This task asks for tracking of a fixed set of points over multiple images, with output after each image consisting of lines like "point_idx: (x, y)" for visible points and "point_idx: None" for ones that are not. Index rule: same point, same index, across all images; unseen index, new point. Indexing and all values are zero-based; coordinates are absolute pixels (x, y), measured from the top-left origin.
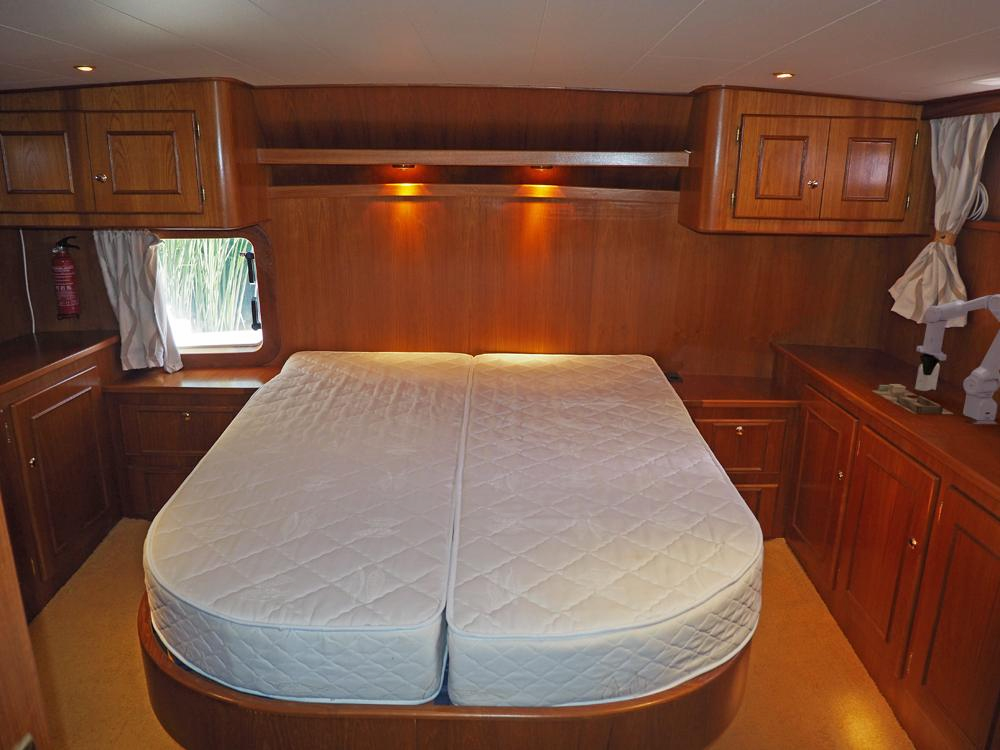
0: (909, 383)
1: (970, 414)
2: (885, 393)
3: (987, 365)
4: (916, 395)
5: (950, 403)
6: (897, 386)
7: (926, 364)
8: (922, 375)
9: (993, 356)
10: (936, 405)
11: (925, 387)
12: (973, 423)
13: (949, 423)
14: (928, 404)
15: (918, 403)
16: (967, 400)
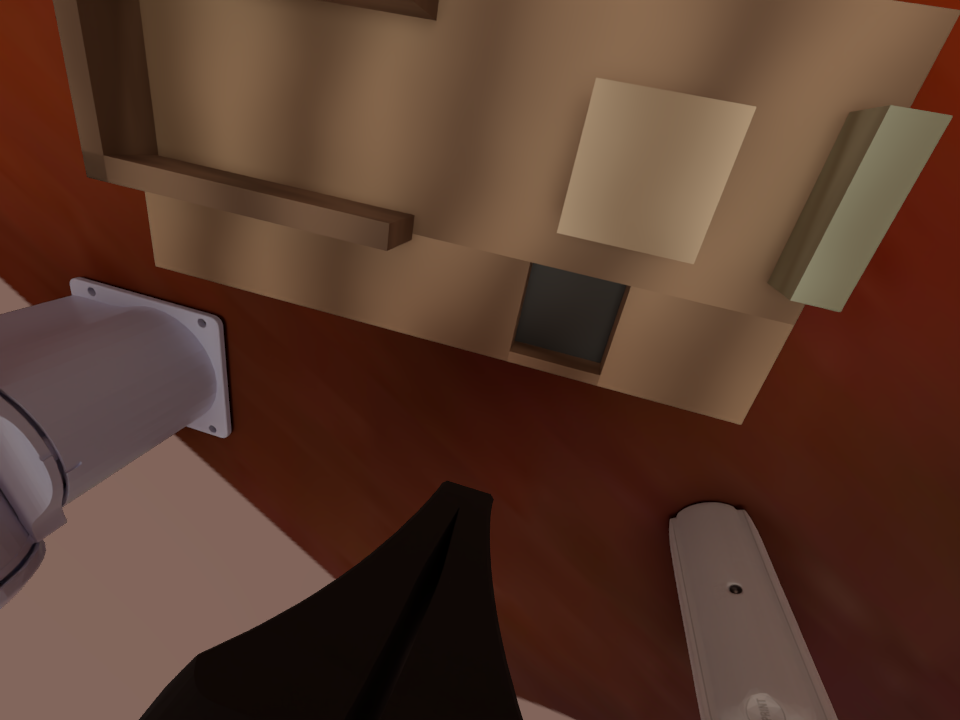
0: (956, 662)
1: (92, 316)
2: (755, 118)
3: None
4: (585, 377)
5: None
6: (612, 139)
7: (343, 587)
8: (734, 643)
9: None
10: (132, 161)
11: (674, 560)
12: (77, 277)
13: (65, 129)
14: (247, 182)
15: (381, 201)
16: (31, 351)
